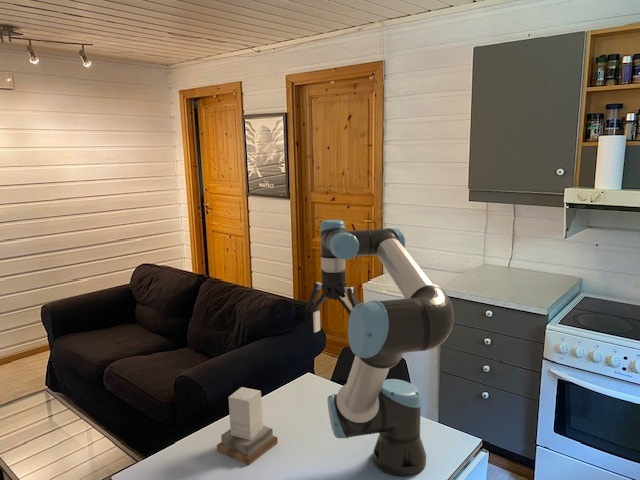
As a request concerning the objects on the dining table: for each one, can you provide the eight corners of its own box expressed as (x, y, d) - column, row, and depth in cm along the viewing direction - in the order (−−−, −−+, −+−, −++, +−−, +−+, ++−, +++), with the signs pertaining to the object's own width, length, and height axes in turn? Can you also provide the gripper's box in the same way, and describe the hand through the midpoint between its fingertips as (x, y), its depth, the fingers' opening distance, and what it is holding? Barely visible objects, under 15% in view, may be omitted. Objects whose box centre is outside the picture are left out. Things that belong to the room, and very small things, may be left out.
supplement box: (263, 428, 150) (261, 390, 148) (250, 441, 144) (248, 401, 142) (243, 423, 153) (241, 386, 151) (229, 435, 147) (227, 396, 145)
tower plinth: (277, 443, 151) (277, 428, 150) (249, 465, 140) (248, 449, 140) (246, 430, 158) (246, 416, 157) (217, 450, 148) (216, 435, 147)
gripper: (374, 271, 147) (375, 338, 150) (307, 263, 161) (309, 324, 164) (362, 276, 141) (363, 346, 144) (294, 267, 155) (296, 331, 158)
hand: (334, 335), depth 154 cm, fingers open, 13 cm apart
